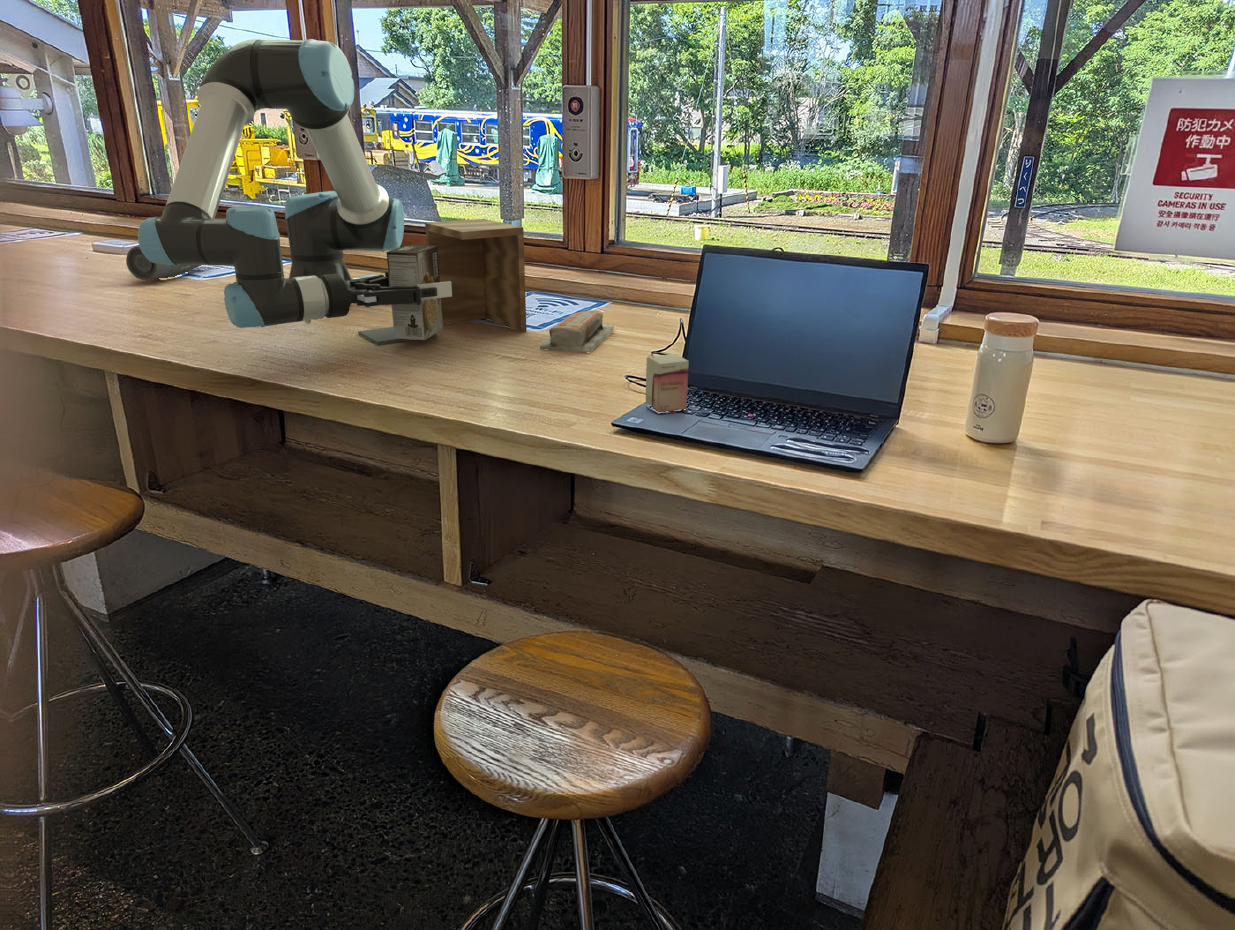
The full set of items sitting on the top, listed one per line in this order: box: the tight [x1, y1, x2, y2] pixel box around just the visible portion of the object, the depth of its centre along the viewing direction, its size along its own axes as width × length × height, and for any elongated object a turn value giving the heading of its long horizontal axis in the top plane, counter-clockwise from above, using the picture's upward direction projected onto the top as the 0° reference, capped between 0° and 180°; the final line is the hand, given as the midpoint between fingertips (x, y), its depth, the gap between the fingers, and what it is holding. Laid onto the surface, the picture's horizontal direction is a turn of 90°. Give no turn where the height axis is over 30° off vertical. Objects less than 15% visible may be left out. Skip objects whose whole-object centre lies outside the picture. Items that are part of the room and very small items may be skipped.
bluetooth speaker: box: [125, 244, 202, 281], centre depth 223 cm, size 23×9×10 cm, turn 172°
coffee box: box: [385, 244, 444, 341], centre depth 162 cm, size 9×6×16 cm
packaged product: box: [539, 309, 615, 353], centre depth 167 cm, size 18×5×10 cm
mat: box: [357, 326, 438, 346], centre depth 170 cm, size 10×12×1 cm
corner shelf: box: [424, 218, 527, 334], centre depth 172 cm, size 16×13×20 cm
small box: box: [645, 353, 690, 412], centre depth 128 cm, size 5×4×8 cm
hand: (437, 284), depth 164 cm, fingers closed on coffee box, 10 cm apart
